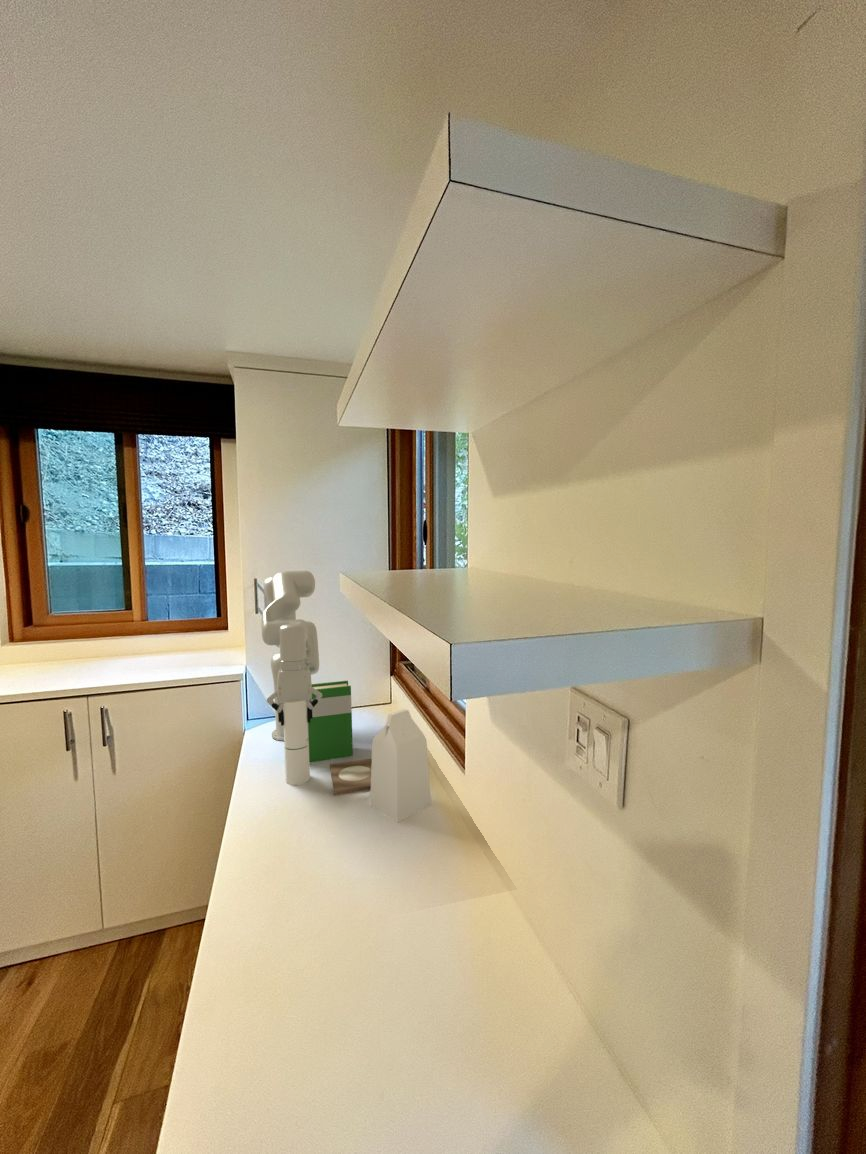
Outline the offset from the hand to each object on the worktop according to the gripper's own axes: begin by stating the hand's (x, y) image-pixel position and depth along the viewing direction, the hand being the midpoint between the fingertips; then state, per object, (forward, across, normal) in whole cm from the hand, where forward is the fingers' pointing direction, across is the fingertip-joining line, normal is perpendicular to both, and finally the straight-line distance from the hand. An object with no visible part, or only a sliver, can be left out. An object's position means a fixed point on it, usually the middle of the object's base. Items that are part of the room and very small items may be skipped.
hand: (295, 722), depth 150 cm
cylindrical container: (+18, 0, 0) cm, 18 cm away
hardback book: (+18, -9, -15) cm, 25 cm away
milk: (+18, -27, +24) cm, 40 cm away
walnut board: (+18, -17, +4) cm, 25 cm away
